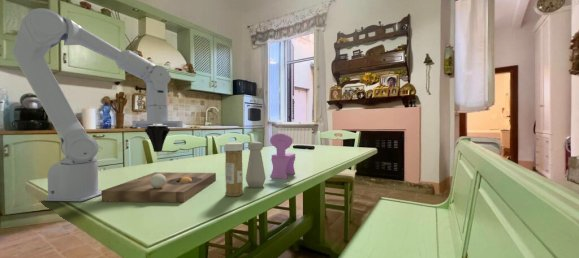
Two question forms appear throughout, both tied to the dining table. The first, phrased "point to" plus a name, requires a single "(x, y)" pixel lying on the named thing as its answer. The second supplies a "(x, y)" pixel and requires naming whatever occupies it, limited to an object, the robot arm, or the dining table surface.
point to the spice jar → (233, 169)
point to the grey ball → (158, 181)
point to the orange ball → (185, 180)
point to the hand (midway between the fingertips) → (158, 151)
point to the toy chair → (282, 156)
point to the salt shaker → (255, 166)
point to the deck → (168, 193)
